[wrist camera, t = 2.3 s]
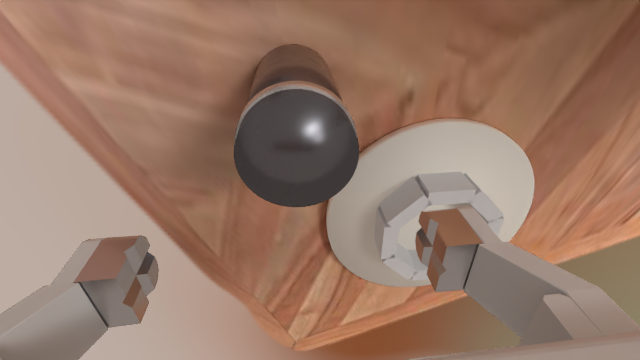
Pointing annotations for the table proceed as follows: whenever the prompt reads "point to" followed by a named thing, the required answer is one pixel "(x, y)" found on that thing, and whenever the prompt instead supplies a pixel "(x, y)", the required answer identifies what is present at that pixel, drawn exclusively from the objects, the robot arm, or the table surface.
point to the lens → (295, 131)
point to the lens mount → (425, 194)
